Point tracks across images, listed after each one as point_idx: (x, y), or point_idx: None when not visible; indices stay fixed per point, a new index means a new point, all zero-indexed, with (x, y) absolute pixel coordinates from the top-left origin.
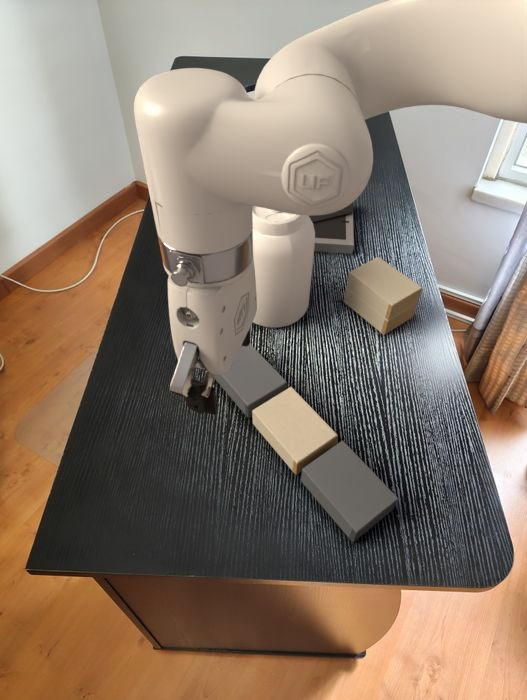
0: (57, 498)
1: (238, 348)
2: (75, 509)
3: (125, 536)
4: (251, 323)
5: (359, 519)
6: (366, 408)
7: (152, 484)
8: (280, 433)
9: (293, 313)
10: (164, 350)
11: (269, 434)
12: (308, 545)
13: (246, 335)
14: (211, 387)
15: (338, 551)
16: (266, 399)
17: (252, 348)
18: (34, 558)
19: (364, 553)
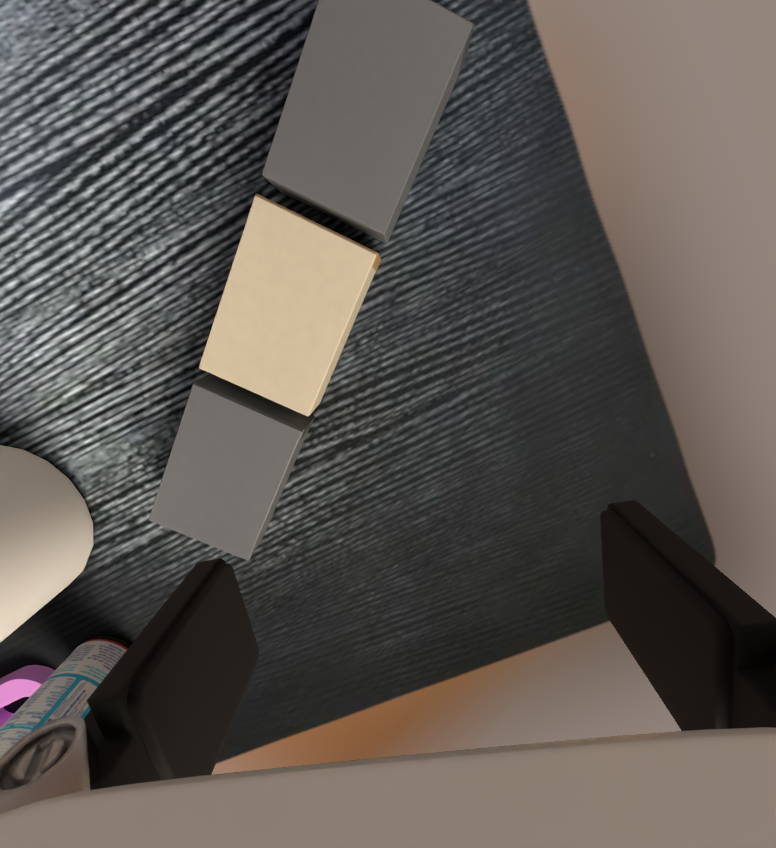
0: None
1: (547, 800)
2: None
3: (630, 484)
4: (118, 806)
5: (439, 30)
6: (134, 182)
7: (526, 500)
8: (327, 328)
9: (2, 467)
10: (267, 638)
11: (337, 352)
12: (509, 158)
13: (191, 616)
14: (724, 644)
15: (494, 87)
16: (259, 404)
17: (159, 500)
18: None
19: None
